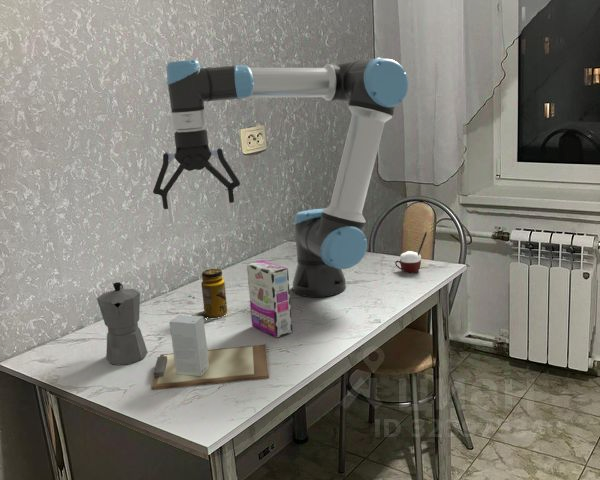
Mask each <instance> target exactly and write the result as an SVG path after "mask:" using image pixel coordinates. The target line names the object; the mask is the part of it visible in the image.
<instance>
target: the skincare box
mask: <svg viewBox="0 0 600 480" xmlns="http://www.w3.org/2000/svg"><path fill="white" fill-rule="evenodd" d="M169 327H170V329H169V330H170V335H171V342H172V343H171V345H172V349H173V351H172V352H173V353H174V361H175V368H176V374H179V375H191V376H202V375H203V374H204V373H205V372H206V371H207V370H208V369H209V361H208V353H207V350H208V347H207V346H208V345H207V338H206V329H205V322H204V319H203V316H194V315H188V314H187V315H186V314H185V315H183V314H177V316H175V318H173V319H172V320H170V321H169Z"/></svg>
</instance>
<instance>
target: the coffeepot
mask: <svg viewBox="0 0 600 480" xmlns="http://www.w3.org/2000/svg"><path fill="white" fill-rule="evenodd" d="M112 285H113V288H114V290H111V291H106V292H103V293H102V294H101V295H99V296H98V297H96V301H97V304H98V306H99V307H98V308H99V310H100V312H101V317H102V319H103V322H104V326H106V327H107V331H108V332H107V334H106V354H105V358H106V360H107V361H108V363H110V364H112V365H115V366H126V365H130V364H131V365H132V364H135V363H139V362H140V361H141V360H143V359H144V358H145V357H146V356H147V354H148V353H149V352H148V349H147V346H146V343H145V340H144V336H143V334H142V330H141V329H140V327H139V323H138V322H139V321H140V306H141V305H140V304H141V303H140V301H141V292H140V291H138V290H137V289H134V288H124V285H123V284H122V283H121V282H114V283H112Z"/></svg>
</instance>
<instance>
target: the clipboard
mask: <svg viewBox="0 0 600 480" xmlns="http://www.w3.org/2000/svg"><path fill="white" fill-rule="evenodd" d="M207 353H208V361H209V369H208V370H207V371H206V372H205V373H204V374H203V375H202V376H191V375H179V374H176V368H175V361H174V353H164V354H163V353H162V354H160V355H159V356H157V357H156V359H157V360H156V363H155V366H154V370H153V381H152V384H151V390H154V391H155V390H162V389H173V388H182V387H192V386H193V387H194V386H202V385H213V384H221V383H223V384H225V383H233V382H240V381H241V382H243V381H251V380H252V381H253V380H261V379H270V375H269V366H268V356H267V346H266V343H265V344H255V345H245V346H234V347H233V346H232V347H226V348H225V347H223V348H214V349H207Z"/></svg>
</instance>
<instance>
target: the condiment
mask: <svg viewBox="0 0 600 480" xmlns="http://www.w3.org/2000/svg"><path fill="white" fill-rule="evenodd" d="M201 276H202V277H201V280H202V282H201V293H202V300H203V301H202V304H203V309H204V310H203V311H200V312H195V313H192V316H203V319H204V323H206V322H210V321H214V320H213V319H210V318H216V319H215V320H217V318H218V317H222V316H224V315H226V314H227V315H228V316H232V315H234V313H232V312H231V311H228V303H227V294H226V286H225V285H226V283H225V279H224V278H223V277H224V276H223V271H222V270H221V268H209V269H205V270H203V271H202V273H201ZM229 314H230V315H229ZM227 315H226V317H228V316H227ZM207 317H208V318H209V319H208V318H207ZM205 318H207V320H206V319H205ZM222 318H223V317H222ZM218 319H219V318H218Z"/></svg>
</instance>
